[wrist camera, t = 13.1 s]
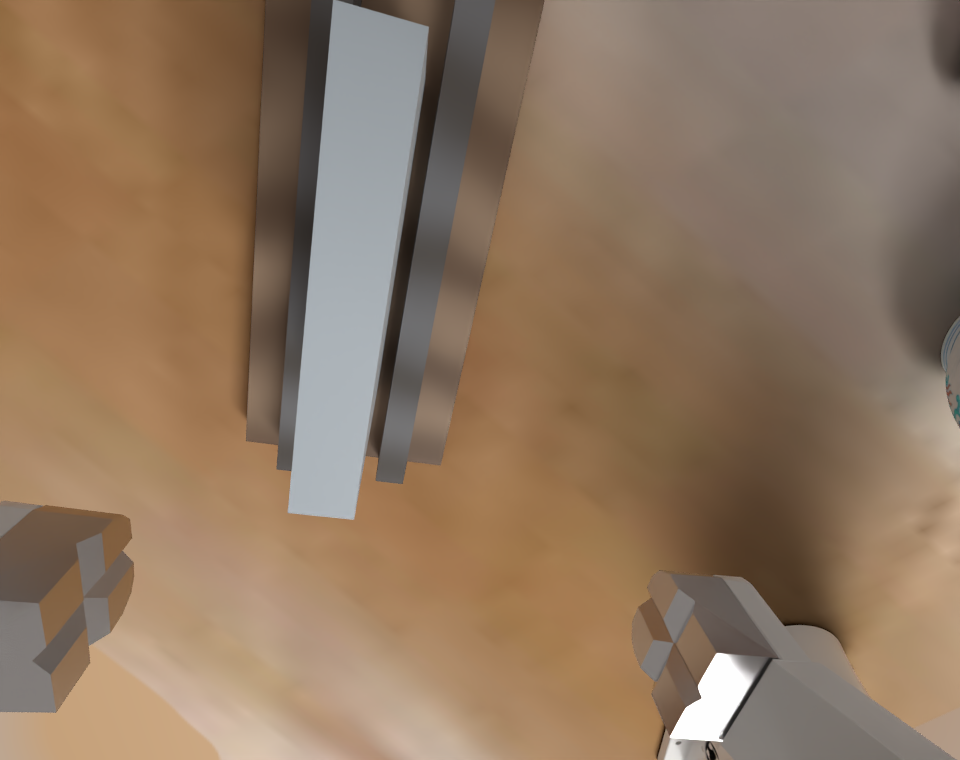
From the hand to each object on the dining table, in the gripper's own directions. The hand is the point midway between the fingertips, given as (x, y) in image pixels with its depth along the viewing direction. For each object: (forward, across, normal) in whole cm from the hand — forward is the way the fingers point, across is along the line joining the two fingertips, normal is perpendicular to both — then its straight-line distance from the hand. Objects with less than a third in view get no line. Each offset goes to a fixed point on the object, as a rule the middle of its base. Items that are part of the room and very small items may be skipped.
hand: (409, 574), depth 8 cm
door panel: (+22, +3, -1) cm, 22 cm away
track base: (+23, +3, -1) cm, 23 cm away
